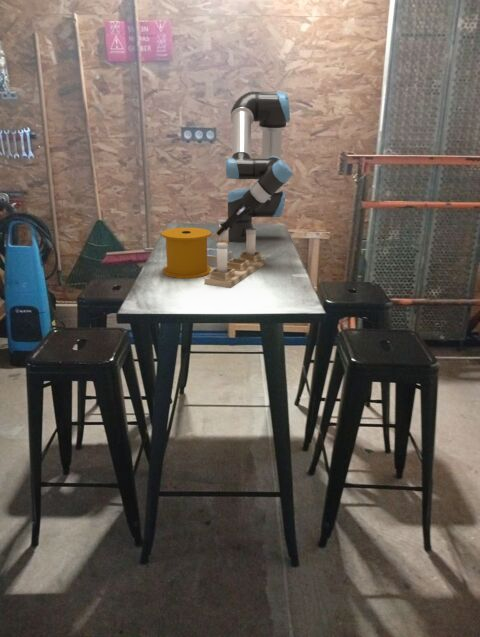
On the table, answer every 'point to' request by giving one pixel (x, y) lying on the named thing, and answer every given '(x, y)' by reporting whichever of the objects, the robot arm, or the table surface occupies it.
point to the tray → (213, 257)
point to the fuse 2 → (250, 241)
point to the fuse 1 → (222, 257)
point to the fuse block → (236, 270)
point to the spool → (186, 252)
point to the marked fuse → (225, 236)
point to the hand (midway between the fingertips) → (214, 237)
